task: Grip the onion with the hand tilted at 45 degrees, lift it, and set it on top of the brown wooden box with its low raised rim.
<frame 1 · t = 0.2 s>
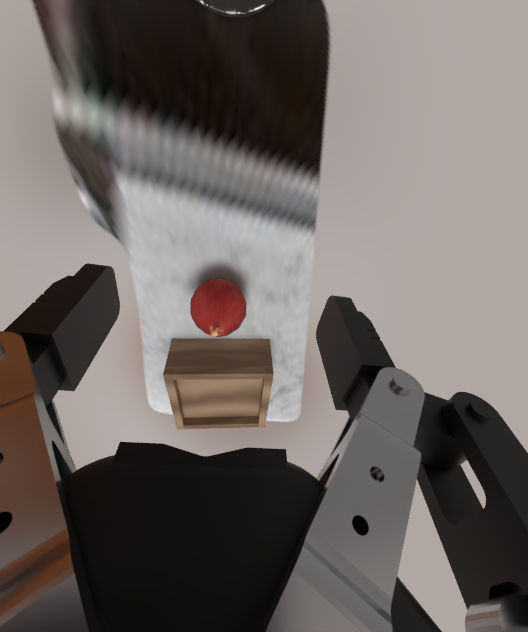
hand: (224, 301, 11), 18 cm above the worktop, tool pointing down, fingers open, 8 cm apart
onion: (220, 286, 32), on the worktop
brown wooden box: (222, 367, 42), on the worktop
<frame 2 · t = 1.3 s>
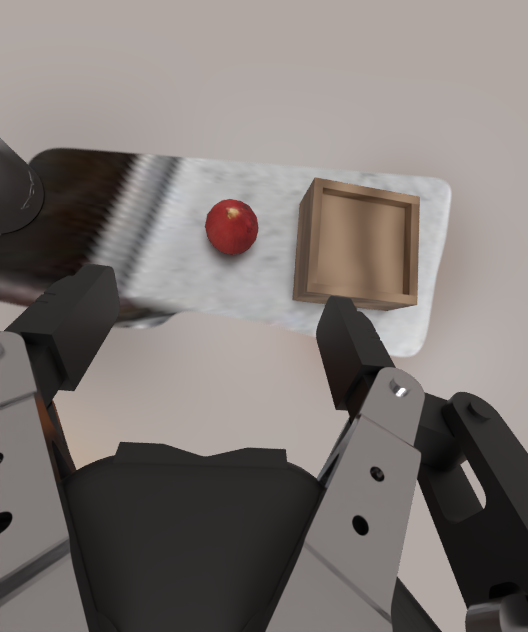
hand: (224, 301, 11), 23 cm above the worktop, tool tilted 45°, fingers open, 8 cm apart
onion: (230, 240, 35), on the worktop
brown wooden box: (342, 258, 37), on the worktop
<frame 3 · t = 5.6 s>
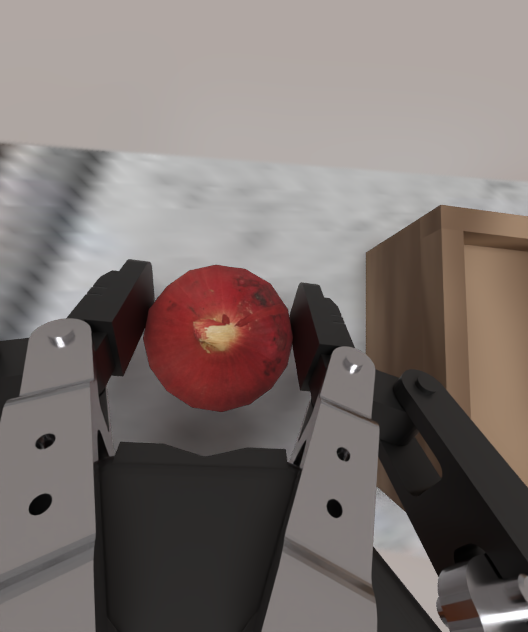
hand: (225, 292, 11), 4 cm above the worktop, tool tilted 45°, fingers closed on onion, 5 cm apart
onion: (221, 339, 15), on the worktop, touching gripper
brown wooden box: (458, 362, 18), on the worktop
when the fingers open (10 cm above the worktop, at t = 11.2 s): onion drops 1 cm, resting on brown wooden box.
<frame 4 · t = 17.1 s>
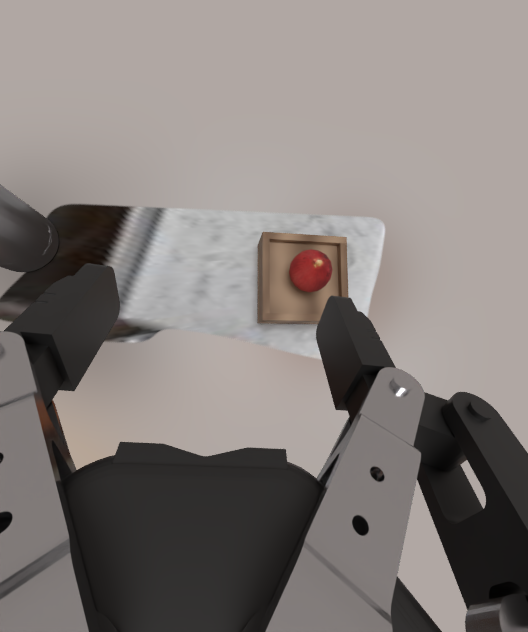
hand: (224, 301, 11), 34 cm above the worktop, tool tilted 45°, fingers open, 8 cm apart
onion: (303, 278, 42), point 4 cm above the worktop, touching brown wooden box
brown wooden box: (295, 285, 47), on the worktop, touching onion
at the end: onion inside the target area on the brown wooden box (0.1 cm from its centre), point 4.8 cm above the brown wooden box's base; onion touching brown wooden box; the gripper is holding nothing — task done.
